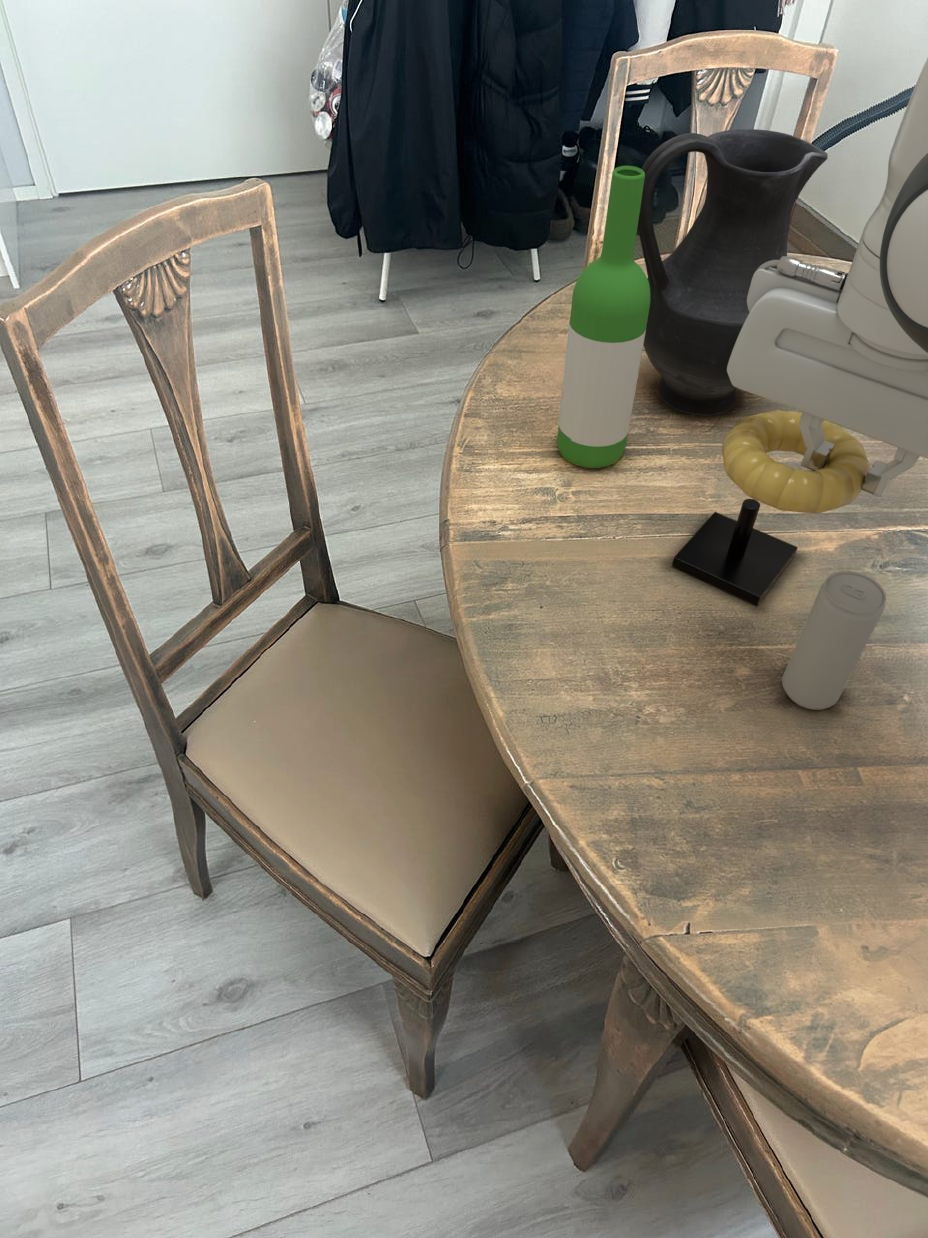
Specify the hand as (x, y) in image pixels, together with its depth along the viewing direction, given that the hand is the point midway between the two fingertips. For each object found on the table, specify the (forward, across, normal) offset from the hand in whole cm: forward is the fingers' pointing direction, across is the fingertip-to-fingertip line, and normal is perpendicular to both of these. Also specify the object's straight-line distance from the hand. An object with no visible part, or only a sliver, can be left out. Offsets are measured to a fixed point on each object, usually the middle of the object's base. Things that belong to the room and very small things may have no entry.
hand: (843, 477), depth 63 cm
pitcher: (+21, -26, +34) cm, 47 cm away
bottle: (+21, -29, +17) cm, 39 cm away
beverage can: (+20, +4, -2) cm, 21 cm away
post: (+20, -8, +10) cm, 24 cm away
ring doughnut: (0, -4, 0) cm, 4 cm away
